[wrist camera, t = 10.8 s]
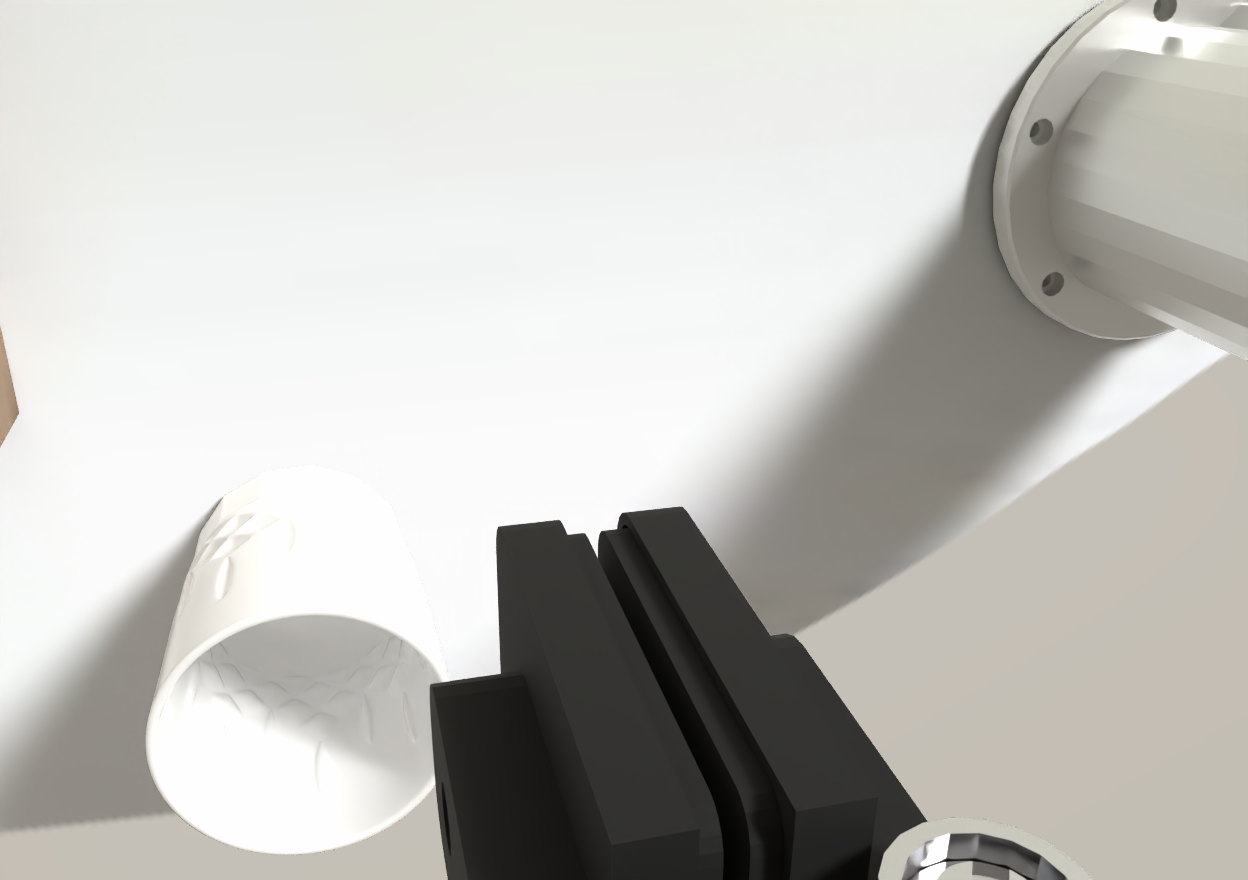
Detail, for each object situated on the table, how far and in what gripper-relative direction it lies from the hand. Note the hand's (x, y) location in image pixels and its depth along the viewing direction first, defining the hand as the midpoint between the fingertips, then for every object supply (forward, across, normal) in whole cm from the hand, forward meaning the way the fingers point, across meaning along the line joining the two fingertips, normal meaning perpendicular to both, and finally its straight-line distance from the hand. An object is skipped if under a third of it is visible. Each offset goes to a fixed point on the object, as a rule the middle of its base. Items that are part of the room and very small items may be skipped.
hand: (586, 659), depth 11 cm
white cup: (+27, +4, +13) cm, 31 cm away
